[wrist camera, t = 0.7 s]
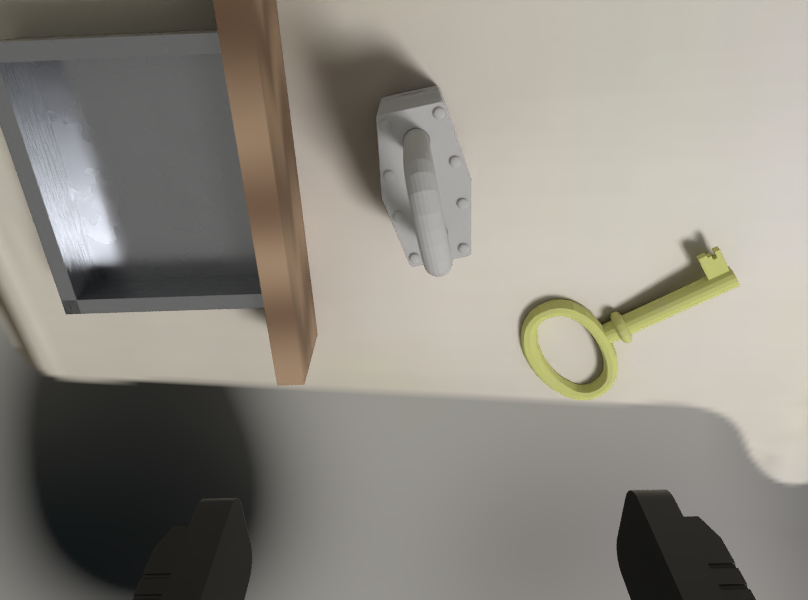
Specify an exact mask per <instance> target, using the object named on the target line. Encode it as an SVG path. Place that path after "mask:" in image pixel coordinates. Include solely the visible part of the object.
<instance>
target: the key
mask: <svg viewBox="0 0 808 600" xmlns="http://www.w3.org/2000/svg"><path fill="white" fill-rule="evenodd" d="M712 250H713V253H714V255H713V256H711V255H710V254H709V253H707V254H705V253H702V254H700V255H697V256H696V257H697V259H698V261H699V263H700V265H701V267H702V269H703V271H704V273H705V275H706V277H704V278H702V279H700V280H697V281H695V282H693V283H691V284H689V285H687V286H684V287H682V288H680V289H678V290H676V291H674V292H671V293H669V294H667V295H665V296H663V297H661V298H658V299H656V300H654V301H652V302H650V303H648V304H645V305H643V306H641V307H639V308H637V309H635V310H632V311H630V312H628V313H626V314H624V315H621V314H620V313H619V312H616V311H615V312H613V313H611V316H610V318H611V321H609V322H606V323H604V324H602V325H601V323H600V322H599V321H598V320H597V319H596V318H595V316H594V315H593V314H592V313H591V312H590V311H588V310H587V309H586V308H585V307H583V306H581V305H579V304H577V303H575V302H573V301H571V300H565V299H554V300H550V301H546V302H544V303H542V304H540V305H538V306H537V307H535V308H533V309H532V310H531V311H530V313H529V314H528V315H527V317H526V318H525V320H524V322H523V325H522V329H521V347H522V350H523V354H524V356H525V358H526V360H527V362H528V363H529V365H530V367H531V368H532V370H533V371H534V372H535V373H536V375H537V376H538V377H539V378H540V379H541V380H542V381H543V382H544V383H545V384H546V385H548V386H549V387H550V388H552V389H553V390H555V391H556V392H558V393H560V394H562V395H564V396H566V397H569V398H572V399H577V400H590V399H593V398H596V397H599V396H601V395H603V394H604V393H606V392H607V391H608V390H609V389H610V388H611V387H612V386H613V384H614V382H615V380H616V376H617V368H618V367H617V357H616V351H615V349H614V346H613V343H612V342H615V341H617V340H619V339H621V340H622V341H623V342H625V343H629V342H631V340H632V334H633V333H635V332H637V331H639V330H642V329H644V328H646V327H648V326H651V325H653V324H655V323H657V322H659V321H662V320H664V319H666V318H668V317H671V316H673V315H675V314H677V313H680V312H682V311H684V310H686V309H689V308H691V307H693V306H695V305H697V304H700V303H702V302H704V301H706V300H709V299H711V298H713V297H715V296H718V295H720V294H722V293H724V292H727V291H729V290H731V289H733V288H735V287H738V286H740V285H739V282H738V280H737V278H736V276H735V274H734V273H733V271H732V270H731V268H730V267H729V266H727V264H726V262H725V260H724V258H723V255H722V253H721V251H720V249H719V248H718V247H717V246H716V247H714V248H712ZM555 316H565V317H570V318H572V319H573V320H575V321H577V322H579V323H580V324H582V325H583V326H584V327H585V328H587V329H588V331H589V332H590V333H591V334H592V335H593V337H594V338H595V340H596V342H597V344H598V345H599V348H600V350H601V353H602V355H603V361H604V364H603V370H602V373H601V374H600V376H599V377H598V378H597V379H596V380H594V381H593V382H591V383H589V384H583V385H580V384H575V383H572V382H570V381H568V380H566V379H565V378H563V377H561V376H560V375H559V374H557V373H556V372H555V371H554V370H553V369H552V368H551V367H550V365H549V364H548V363H547V361H546V360H545V358H544V356H543V355H542V352H541V349H540V347H539V344H538V337H537V328H538V326H539V324H540V323H541V322H542V321H544V320H545V319H548V318H550V317H555Z"/></svg>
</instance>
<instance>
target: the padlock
mask: <svg viewBox="0 0 808 600" xmlns="http://www.w3.org/2000/svg"><path fill="white" fill-rule="evenodd" d="M376 125H377V140H378V154H379V169H380V183H381V198H382V200H383V203H384V205H385V207H386V210H387V212H388V214H389V217H390V219H391V221H392V224H393V226H394V228H395V231H396V233H397V236H398V238H399V240H400V243H401V245H402V247H403V250H404V252H405V254H406V257H407V259H408V262H409V264H410V265H411V266H413V267H415V266H420V265H424V267H425V269H426V271H427V272H428V273H429V274H431V275H432V276H436V277H440V276H444V275H446V274H447V273H448V272H449V271H450V269H451V267H452V259H456V258H461V257H466V256H469V255H470V254H471V177H470V174H469V171H468V168H467V165H466V163H465V160H464V157H463V154H462V151H461V148H460V145H459V142H458V139H457V137H456V134H455V131H454V128H453V125H452V122H451V119H450V116H449V113H448V111H447V108H446V105H445V102H444V99H443V96H442V94H441V91H440V88H439V87H438V86H436V85H435V86H430V87H426V88H421V89H417V90H413V91H408V92H404V93H399V94H395V95H390V96H386V97H382V98H381V100H380V104H379V108H378V112H377V115H376Z"/></svg>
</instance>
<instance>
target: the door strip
mask: <svg viewBox="0 0 808 600" xmlns="http://www.w3.org/2000/svg"><path fill="white" fill-rule="evenodd" d="M212 1H213V7H214V13H215V19H216V25H217V31H218V37H219V43H220V48H221V54H222V60H223V66H224V72H225V78H226V84H227V90H228V96H229V102H230V108H231V114H232V120H233V126H234V132H235V137H236V143H237V149H238V155H239V161H240V167H241V173H242V179H243V185H244V191H245V197H246V203H247V209H248V215H249V221H250V226H251V232H252V238H253V244H254V250H255V256H256V262H257V268H258V274H259V280H260V286H261V292H262V298H263V304H264V310H265V315H266V321H267V327H268V333H269V339H270V345H271V351H272V357H273V363H274V369H275V375H276V381H277V385H304V384H305V380H306V376H307V373H308V369H309V365H310V361H311V357H312V354H313V350H314V346H315V342H316V338H317V328H316V319H315V311H314V303H313V295H312V287H311V279H310V271H309V263H308V255H307V247H306V239H305V231H304V223H303V215H302V207H301V199H300V191H299V182H298V174H297V166H296V158H295V150H294V142H293V134H292V126H291V118H290V110H289V102H288V94H287V86H286V78H285V70H284V62H283V54H282V45H281V37H280V29H279V21H278V13H277V5H276V0H212Z"/></svg>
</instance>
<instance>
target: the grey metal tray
mask: <svg viewBox="0 0 808 600" xmlns="http://www.w3.org/2000/svg"><path fill="white" fill-rule="evenodd" d="M0 125H1V128H2V131H3V134H4V137H5V140H6V143H7V146H8V148H9V151H10V154H11V157H12V160H13V163H14V166H15V169H16V171H17V174H18V177H19V180H20V183H21V186H22V189H23V192H24V194H25V197H26V200H27V203H28V206H29V209H30V212H31V215H32V218H33V220H34V223H35V226H36V229H37V232H38V235H39V238H40V241H41V243H42V246H43V249H44V252H45V255H46V258H47V261H48V264H49V267H50V269H51V272H52V275H53V278H54V281H55V284H56V287H57V290H58V292H59V295H60V298H61V301H62V304H63V307H64V310H65V313H66V314H86V313H117V312H147V311H178V310H208V309H239V308H264V304H263V298H262V292H261V286H260V280H259V274H258V268H257V262H256V256H255V250H254V244H253V238H252V232H251V226H250V221H249V215H248V209H247V203H246V197H245V191H244V185H243V179H242V173H241V167H240V161H239V155H238V149H237V143H236V137H235V132H234V126H233V120H232V114H231V108H230V102H229V96H228V90H227V84H226V78H225V72H224V66H223V60H222V54H221V48H220V43H219V37H218V31H217V30H204V31H181V32H157V33H134V34H111V35H87V36H64V37H40V38H17V39H6V40H0Z"/></svg>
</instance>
